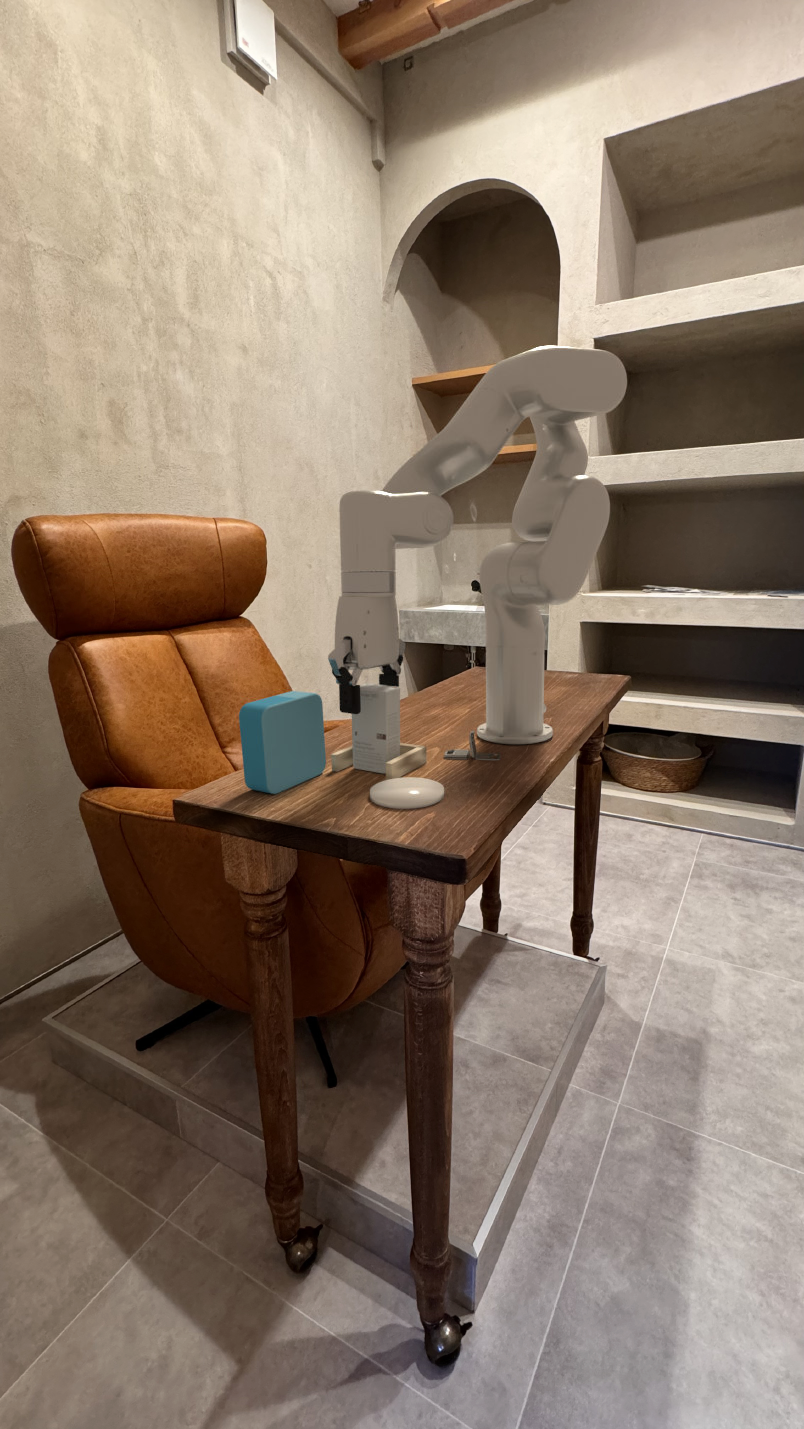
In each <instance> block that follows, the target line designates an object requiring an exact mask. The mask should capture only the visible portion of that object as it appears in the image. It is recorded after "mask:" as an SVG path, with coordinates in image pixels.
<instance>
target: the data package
mask: <svg viewBox="0 0 804 1429" xmlns="http://www.w3.org/2000/svg"><path fill="white" fill-rule="evenodd" d="M323 708H324V707H323V700H322V696H320V694H318V693H316V692H308V691H300V690H299V691H296V690H291V691H287V692H284V693H280V694H276V695H272V696H269V697H265V698H262V699H258V700H254V701H251V702H247V703H245V704H243V705H242V706H241V707H240V710H239V713H238V721H239V732H240V743H241V756H242V764H243V775H244V783H245V785H246V788H248V789H249V790H254V791H258V792H263V793H267V794H272V795H277V794H279V793H281V792H282V793H283V792H284V791H286V790H289V789H291V788H292V787H296V786H298V785H300V784H302V783H304V782H307V781H309V780H311V779H314V778H315V777H317V776H319V775H321V774H322V773H323V772H325V771H324V770H325V769H326V764H327V756H326V742H325V741H326V740H325V738H326V737H325V725H324V709H323Z"/></svg>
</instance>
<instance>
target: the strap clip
mask: <svg viewBox="0 0 804 1429" xmlns="http://www.w3.org/2000/svg"><path fill="white" fill-rule="evenodd" d="M475 733H476V731H475V730H471V731H470V733H469V737H468V739H469V740H468V742H469V749H460V748H459V749H458V748H456V749H455V748H454V749H449V750H446V751H445V752H444V755H443V758H444V759H446V760H468V759H470V757H471V758H472V759H474V760H478V761H479V760H480V761H500V760H501V753H499V752H477V746H476V738H475ZM493 756H497V757H493Z"/></svg>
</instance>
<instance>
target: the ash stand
mask: <svg viewBox="0 0 804 1429" xmlns="http://www.w3.org/2000/svg"><path fill="white" fill-rule="evenodd" d="M352 746H353V745H350V746H347V747H345V748H343V749H340V750H338V751H335V752H333V753H331V754H330V757H331V758H330V759H331V771H333V772H340V771H342V770H344V769H346V768H349V767H350V766H353V747H352ZM425 764H427V745H426V746H424V745H418V744H410V743H403V742H400V756H399V757H397V758H395V759H393V760H390V761H388V762H386V763H385V765H386V773H385V780H389V779H394V778H402V777H403V776H404V775H406V774H408V773H410V772H412V771H413V770H415V769H417V768H419V767H421V766H423V765H425Z"/></svg>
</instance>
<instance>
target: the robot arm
mask: <svg viewBox="0 0 804 1429" xmlns="http://www.w3.org/2000/svg"><path fill="white" fill-rule="evenodd" d="M626 371H627V370H626V367H625V366H624V363H623V362H622V361H621V359H620V358H619V357H618V356H617V355H615V354H614V353H613V352H611V351H608V350H603V349H597V348H596V349H595V348H583V347H573V346H572V347H570V346H564V345H563V346H558V345H544V346H543V345H542V346H538V347H535V348H532V349H530V350H527V351H524V352H521V353H518V354H516V355H513V356H510V357H507V358H505V359H503V360H501V361H498V362H497V363H496V364H495V365H493V366H491V368H488V371H487V372H486V373H485V374H484V375H483V376H482V378H481V379H480V381H479V382H478V383H477V384H476V386H475V387H474V388H473V390H472V391H471V392H470V394H469V395H468V397H467V398H466V400H464V402H463V404H462V405H461V406H460V407H459V408H458V410H457V411H456V413H455V414H454V415H453V417H452V418H451V419H450V420H449V422H448V423H447V424H446V426H444V428H443V429H442V430H441V431H440V432H438V433H437V434H435V436H433V438H431V439H430V440H429V441H428V442H427V443H426V444H425V445H424V446H423V447H421V448H420V450H418V451H417V452H416V453H415V454H414V455H412V456H411V457H410V458H409V459H408V460H407V461H406V462H404V463H403V465H401V467H399V468H398V469H397V471H395V473H394V474H393V475H392V476H391V478H390V479H389V480H388V481H387V483H386V484H385V485H384V487H383V488H382V489H381V490H367V489H366V490H362V489H361V490H354V491H353V490H352V491H347V492H345V493H344V494H343V495H342V496H341V498H340V499H339V511H338V512H339V540H340V543H339V546H340V549H339V550H340V551H339V553H340V586H341V587H340V589H341V590H340V591H341V592H340V594H341V595H340V596H338V602H337V605H336V606H337V607H336V615H335V621H334V622H335V624H334V625H335V626H334V649H333V650H332V651H331V652H330V653H329V654H328V656H327V659H328V660H327V661H328V662H329V665H330V668H331V673H332V675H333V676H334V677H335V682H336V684H337V685H338V692H339V693H338V694H339V696H338V697H339V701H338V702H339V711H340V712H341V713H343V714H345V713H346V714H351V715H352V714H359V713H360V712H361V698H360V685H361V684H358V681H359V680H360V677H361V675H362V672H363V670H365V671H366V670H371V669H376V668H379V669H380V671H381V673H379V674H378V685H387V686H395V687H400V674H401V673H402V668H401V666H402V665H403V663H404V654H405V650H406V642H404V641H403V640H402V638H400V628H399V625H400V624H399V614H398V613H399V612H398V606H397V600H396V596H397V592H396V589H397V588H396V586H397V585H396V584H397V583H396V582H397V581H396V580H397V579H396V574H397V573H396V571H397V570H396V568H397V567H396V550H401V549H402V550H403V549H426V548H431V547H435V546H436V545H439V544H441V543H442V542H443V541H445V540H446V539H447V537H448V536H449V535H450V534H451V531H452V529H453V526H454V525H453V524H454V514H453V510H452V508H451V506H450V504H449V502H447V500H446V499H445V498H444V497H442V495H444V494H445V493H447V492H448V491H450V490H452V489H454V488H456V487H458V486H459V485H460V486H461V485H462V484H464V483H466V482H468V481H470V480H472V479H473V478H475V477H477V476H478V475H480V474H481V473H483V472H484V471H486V470H487V469H488V468H489V467H490V466H491V465H492V464H493V462H494V461H495V459H496V458H497V457H498V455H499V454H500V453H501V451H502V450H503V448H504V447H505V445H506V444H507V442H508V441H509V439H511V437H513V436H512V435H513V434H514V433H515V432H516V430H517V429H518V428H519V426H520V425H521V423H523V421H524V420H525V419H527V418H529V419H530V421H531V422H530V423H531V424H532V428H533V430H534V435H535V439H536V452H535V455H534V459H533V462H532V465H531V466H530V469H529V472H528V473H527V477H526V479H525V481H524V484H523V485H522V489H521V491H520V493H519V496H518V498H517V501H516V503H515V506H514V508H513V511H512V517H511V525H512V528H513V531H514V533H515V534H516V535H517V536H518V537H519V538H521V539H522V540H525V541H516V542H515V541H512V542H506V543H503V544H498V545H497V546H495V547H493V548H492V549H490V550H489V551H488V552H487V553H486V554H485V556H484V557H483V558H482V561H481V563H480V567H479V574H478V575H479V576H478V577H479V586H480V587H479V588H480V591H481V597H482V602H483V608H484V617H485V706H486V707H485V718H486V720H485V722H484V723H481V724H480V725H479V726H477V728H476V735H477V736H478V737H479V738H480V739H482V740H484V741H486V742H490V743H496V744H503V745H504V744H505V745H527V744H528V745H529V744H536V743H540V742H541V743H542V742H546V741H547V740H550V739H551V738H552V737H553V734H554V733H553V732H554V730H553V727H552V726H550V725H549V724H546V723H544V713H546V711H547V705H546V704H545V702H544V699H545V696H544V693H545V642H546V631H545V625H544V620H543V617H542V613H541V611H540V609H539V607H538V605H541V606H560V605H565V604H566V603H569V602H571V601H572V600H573V599H574V598H575V597H576V596H578V594H579V592H580V591H581V589H582V588H583V585H584V583H585V582H586V578H587V576H588V574H589V572H590V570H591V568H592V565H593V563H594V559H595V558H596V555H597V552H598V551H599V548H600V545H601V543H602V540H603V538H604V536H605V533H606V530H607V527H608V524H609V521H610V516H611V515H610V514H611V502H610V496H609V492H608V490H607V488H606V487H605V485H604V484H603V482H601V480H599V479H598V478H596V477H593V476H590V475H585V474H586V471H587V467H588V463H589V454H588V449H587V447H586V444H585V442H584V440H583V438H582V436H581V433H580V431H579V429H578V426H577V424H576V421H579V420H585V419H588V418H592V417H596V416H601V415H605V414H607V413H610V412H612V411H613V410H614V409H615V408H617V407H618V405H619V404H620V403H621V402H622V401H623V399H624V397H625V394H626V390H627V387H628V378H627V372H626ZM350 671H352V673H350Z"/></svg>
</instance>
